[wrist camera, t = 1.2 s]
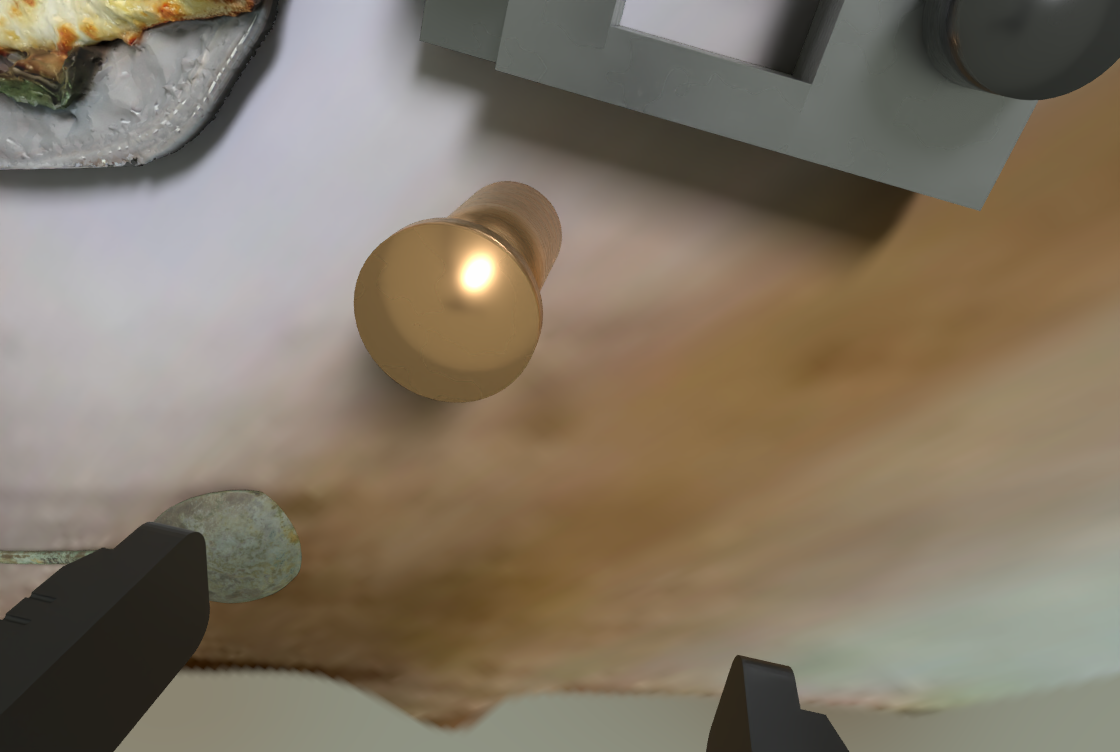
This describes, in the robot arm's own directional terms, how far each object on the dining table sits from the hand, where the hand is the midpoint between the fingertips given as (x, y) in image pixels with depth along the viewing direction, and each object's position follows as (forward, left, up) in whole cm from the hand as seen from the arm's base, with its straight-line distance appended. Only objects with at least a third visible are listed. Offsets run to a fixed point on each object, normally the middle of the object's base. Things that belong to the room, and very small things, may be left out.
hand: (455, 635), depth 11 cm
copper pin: (-3, 0, -20) cm, 20 cm away
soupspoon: (-20, -22, -20) cm, 36 cm away
